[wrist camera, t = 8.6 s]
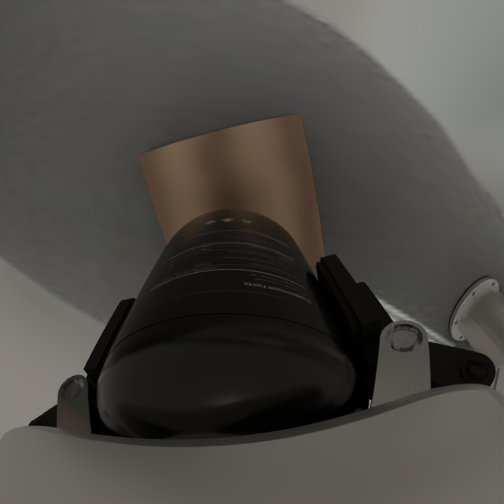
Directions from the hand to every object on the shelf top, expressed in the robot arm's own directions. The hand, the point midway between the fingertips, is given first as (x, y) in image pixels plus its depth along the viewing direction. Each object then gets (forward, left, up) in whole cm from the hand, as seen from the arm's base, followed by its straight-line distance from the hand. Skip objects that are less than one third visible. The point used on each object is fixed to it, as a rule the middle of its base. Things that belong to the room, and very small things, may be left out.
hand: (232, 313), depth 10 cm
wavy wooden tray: (0, 0, -17) cm, 17 cm away
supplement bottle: (0, 0, -3) cm, 3 cm away
